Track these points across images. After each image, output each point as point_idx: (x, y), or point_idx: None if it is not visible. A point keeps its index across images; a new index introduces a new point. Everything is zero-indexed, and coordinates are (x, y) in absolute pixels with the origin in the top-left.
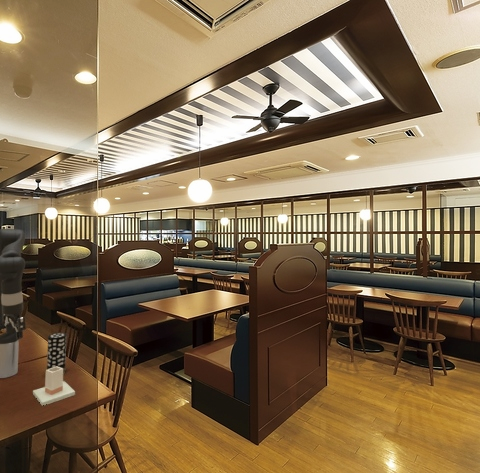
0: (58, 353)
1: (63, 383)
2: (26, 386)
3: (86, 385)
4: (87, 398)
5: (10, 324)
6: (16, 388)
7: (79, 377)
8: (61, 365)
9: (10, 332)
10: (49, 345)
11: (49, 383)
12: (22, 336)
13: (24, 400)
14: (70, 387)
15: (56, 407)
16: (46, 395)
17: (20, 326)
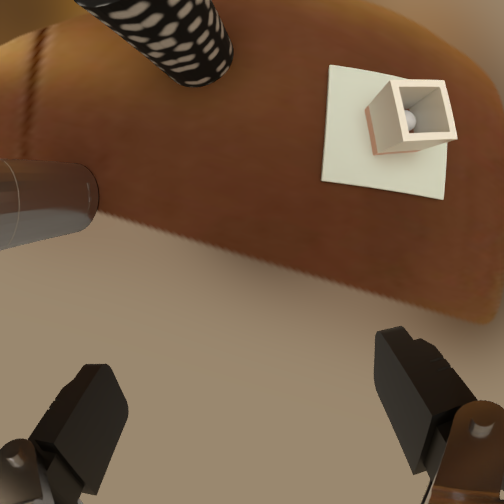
0: (207, 9)
1: (351, 76)
2: (229, 174)
3: (400, 33)
4: (486, 88)
5: (55, 470)
6: (218, 206)
7: (312, 13)
8: (223, 28)
9: (113, 386)
10: (148, 22)
11: (416, 147)
12: (431, 345)
13: (349, 222)
14: (405, 79)
15: (475, 174)
16: (405, 165)
17: (457, 486)
